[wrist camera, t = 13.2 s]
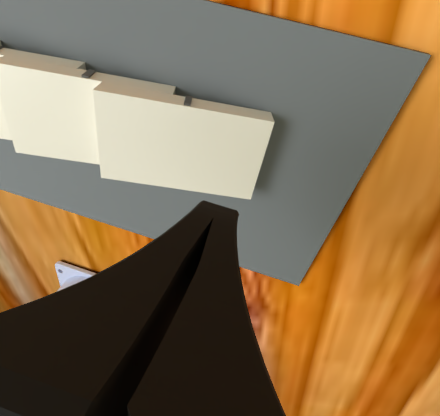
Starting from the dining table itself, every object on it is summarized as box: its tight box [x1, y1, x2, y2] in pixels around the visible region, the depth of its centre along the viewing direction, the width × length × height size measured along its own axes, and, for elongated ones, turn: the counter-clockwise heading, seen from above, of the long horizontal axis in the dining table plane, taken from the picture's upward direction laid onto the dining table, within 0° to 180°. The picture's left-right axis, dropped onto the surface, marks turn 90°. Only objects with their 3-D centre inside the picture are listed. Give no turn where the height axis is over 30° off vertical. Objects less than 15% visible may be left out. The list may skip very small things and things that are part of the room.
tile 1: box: [93, 82, 275, 200], centre depth 15 cm, size 5×1×8 cm
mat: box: [0, 0, 431, 286], centre depth 18 cm, size 15×34×1 cm, turn 79°
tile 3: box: [0, 46, 86, 140], centre depth 15 cm, size 5×1×8 cm
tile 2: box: [0, 56, 176, 165], centre depth 15 cm, size 5×1×8 cm
